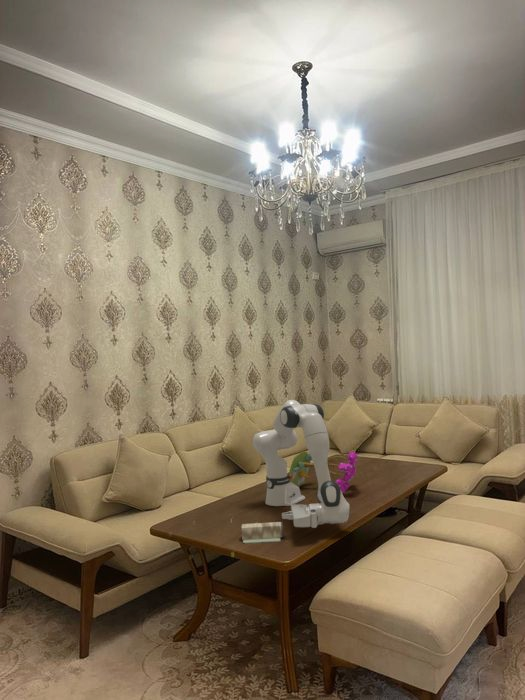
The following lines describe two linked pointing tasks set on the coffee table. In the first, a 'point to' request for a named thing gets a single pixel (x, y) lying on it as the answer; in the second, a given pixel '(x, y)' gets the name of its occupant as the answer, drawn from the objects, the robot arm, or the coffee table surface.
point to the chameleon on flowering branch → (303, 463)
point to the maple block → (262, 530)
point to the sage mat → (261, 540)
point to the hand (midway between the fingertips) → (281, 515)
